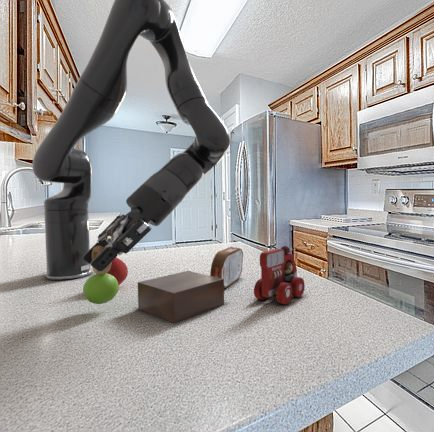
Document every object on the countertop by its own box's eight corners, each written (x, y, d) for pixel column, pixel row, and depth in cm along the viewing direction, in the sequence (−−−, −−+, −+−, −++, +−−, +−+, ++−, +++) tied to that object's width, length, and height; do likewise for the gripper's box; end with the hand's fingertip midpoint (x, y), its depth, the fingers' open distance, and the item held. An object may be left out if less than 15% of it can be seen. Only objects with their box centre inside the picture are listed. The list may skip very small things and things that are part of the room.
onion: (114, 293, 65) (113, 256, 65) (91, 292, 67) (90, 255, 66) (133, 286, 71) (132, 251, 71) (112, 284, 72) (111, 250, 72)
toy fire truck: (308, 292, 67) (309, 245, 66) (278, 310, 56) (278, 253, 56) (281, 287, 70) (282, 242, 70) (248, 303, 60) (248, 250, 59)
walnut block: (138, 309, 57) (137, 282, 56) (188, 293, 66) (187, 270, 65) (174, 323, 50) (174, 293, 50) (224, 304, 59) (224, 278, 59)
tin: (233, 275, 81) (233, 244, 80) (245, 276, 80) (245, 244, 80) (208, 292, 66) (208, 254, 66) (222, 293, 66) (222, 254, 65)
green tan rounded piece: (96, 311, 51) (93, 240, 50) (77, 304, 54) (75, 237, 54) (128, 302, 56) (126, 236, 55) (109, 296, 59) (106, 234, 58)
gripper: (132, 183, 64) (64, 246, 57) (158, 182, 53) (79, 258, 46) (158, 208, 68) (98, 270, 61) (187, 211, 57) (119, 286, 50)
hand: (91, 264), depth 53 cm, fingers closed on green tan rounded piece, 6 cm apart
